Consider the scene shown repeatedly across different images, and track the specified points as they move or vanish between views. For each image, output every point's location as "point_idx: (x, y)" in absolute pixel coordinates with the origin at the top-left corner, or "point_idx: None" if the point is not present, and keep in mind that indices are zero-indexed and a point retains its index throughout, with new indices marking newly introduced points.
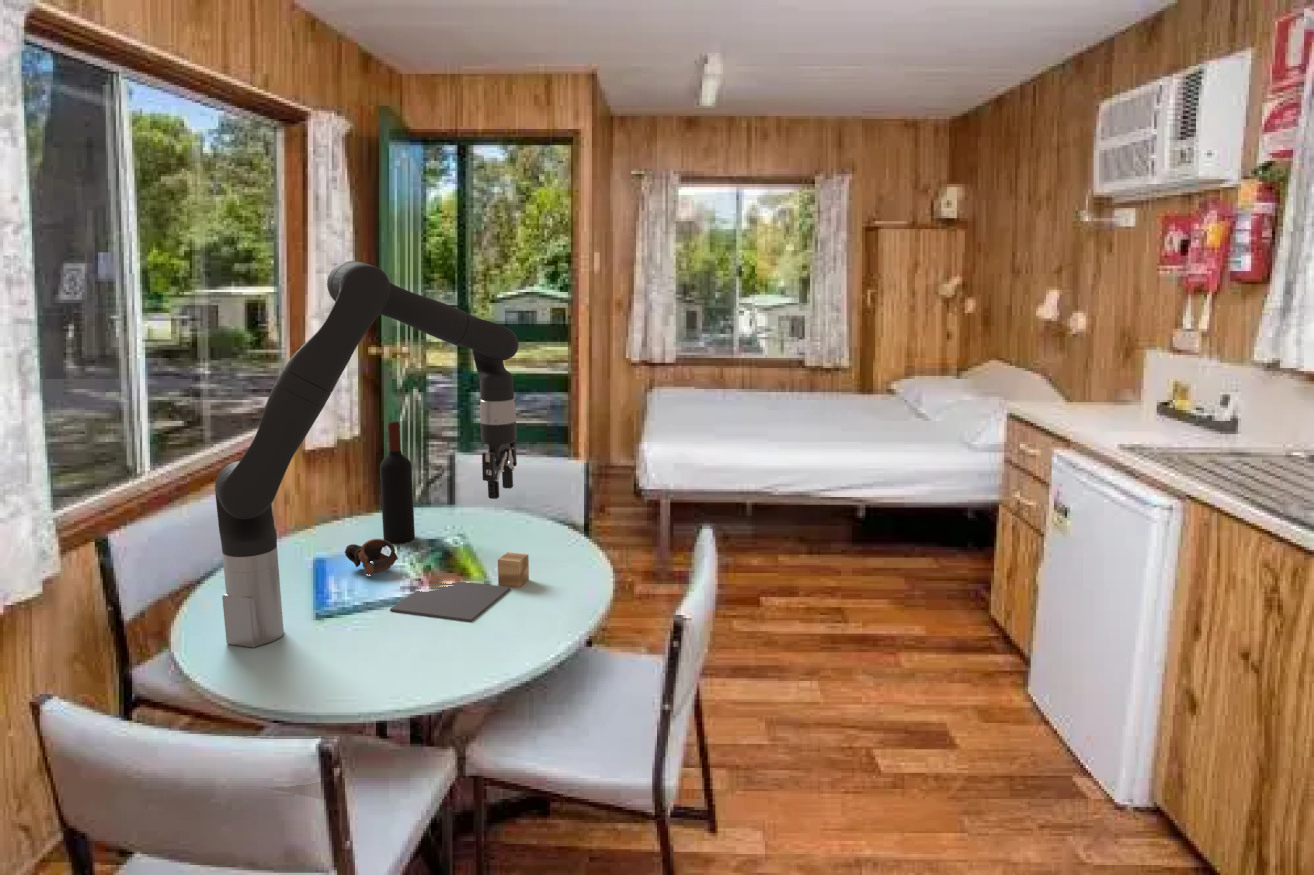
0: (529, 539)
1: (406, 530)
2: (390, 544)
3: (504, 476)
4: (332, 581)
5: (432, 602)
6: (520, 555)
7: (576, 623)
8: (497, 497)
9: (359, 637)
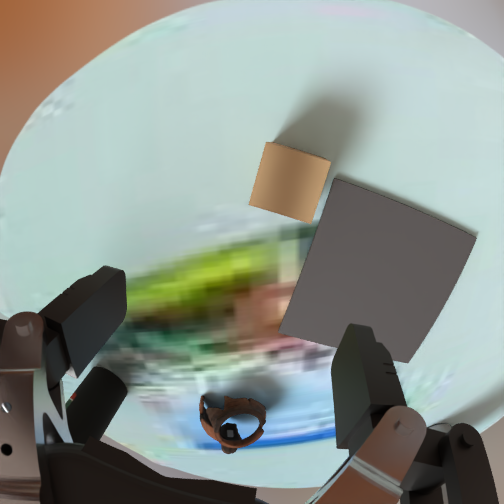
0: (51, 192)
1: (107, 388)
2: (221, 422)
3: (89, 347)
4: (279, 434)
5: (398, 314)
6: (274, 164)
7: (481, 58)
8: (369, 330)
9: (472, 364)
